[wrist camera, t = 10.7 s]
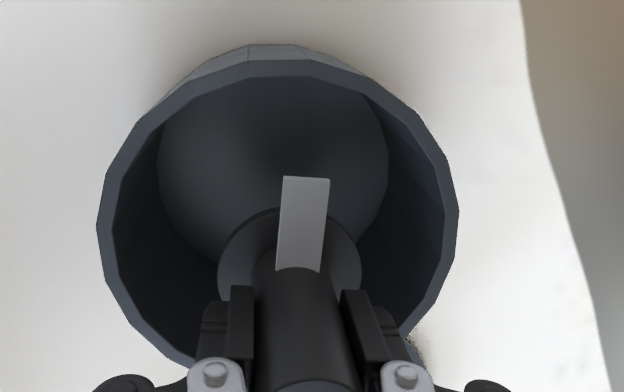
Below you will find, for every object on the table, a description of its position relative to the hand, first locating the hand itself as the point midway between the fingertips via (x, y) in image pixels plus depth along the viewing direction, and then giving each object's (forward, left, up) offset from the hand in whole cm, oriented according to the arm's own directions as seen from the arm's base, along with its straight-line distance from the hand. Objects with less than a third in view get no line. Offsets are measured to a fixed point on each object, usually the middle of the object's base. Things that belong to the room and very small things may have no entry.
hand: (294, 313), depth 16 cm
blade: (0, 0, -3) cm, 3 cm away
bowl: (0, 0, -14) cm, 14 cm away
